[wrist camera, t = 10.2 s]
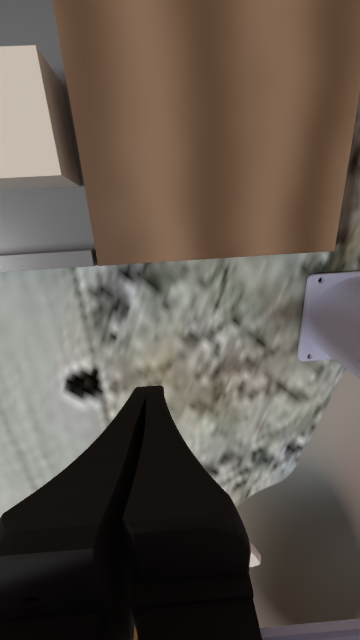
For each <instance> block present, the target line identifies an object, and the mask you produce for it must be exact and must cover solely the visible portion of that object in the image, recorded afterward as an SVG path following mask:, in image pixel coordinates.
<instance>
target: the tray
mask: <svg viewBox="0 0 360 640" xmlns="http://www.w3.org/2000/svg"><path fill="white" fill-rule="evenodd" d="M26 45H36V46H37V48H38V49H39V51H40V52H41V54H42V55H43V57H44V58H45V60H46V61H47V62H48V64H49V65H50V67H51V68H52V70H53V71H54V73H55V74H56V76H57V77H58V78H59V80H60V81H61V83H62V85H63V91H64V97H65V102H66V108H67V114H68V119H69V125H70V131H71V136H72V142H73V148H74V153H75V159H76V165H77V170H78V176H79V182H80V186H77V187H58V188H40V189H21V190H2V191H0V272H8V271H24V270H39V269H55V268H71V267H87V266H95V265H98V262H97V256H96V250H95V244H94V238H93V233H92V227H91V221H90V215H89V209H88V204H87V198H86V192H85V186H84V181H83V175H82V169H81V163H80V157H79V152H78V146H77V140H76V134H75V128H74V123H73V117H72V111H71V105H70V99H69V94H68V88H67V82H66V76H65V70H64V65H63V59H62V53H61V47H60V42H59V36H58V30H57V24H56V18H55V13H54V7H53V1H52V0H0V46H26Z"/></svg>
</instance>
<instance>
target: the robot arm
mask: <svg viewBox="0 0 360 640" xmlns="http://www.w3.org/2000/svg"><path fill="white" fill-rule="evenodd" d="M319 278H322V280H321V281H320V282H318V280H319ZM309 354H310V356H309V357H307V356H308V355H309ZM297 356H298V359H299V360H301V361H316V360H329V359H334V360H335V361H336V362H338V363H339V364H340V365H342V366H343V367H344V368H346V369H347V370H348V371H350V372H351V373H353V374H354V375H355V376H357V377H358V378H360V271H352V272H337V273H322V274H312V275H310V276H309V277H308V279H307V284H306V292H305V300H304V308H303V316H302V323H301V331H300V339H299V347H298V355H297ZM250 555H251V548H250V542H249V538H248V536H247V533H246V530H245V527H244V525H243V523H242V520H241V518H240V516H239V514H238V512H237V509H236V507H235V505H234V503H233V501H232V499H231V498H230V496H229V495H228V494H227V493H226V492H225V491H224V490H223V489H222V488H221V487H220V486H219V485H218V484H217V483H216V481H215V480H214V479H213V478H212V477H211V476H210V475H209V474H208V472H207V471H206V470H205V469H204V468H203V466H202V465H201V464H200V462H199V461H198V460H197V458H196V457H195V456H194V455H193V453H192V452H191V450H190V449H189V447H188V446H187V444H186V443H185V441H184V440H183V438H182V436H181V435H180V433H179V431H178V429H177V427H176V425H175V423H174V421H173V419H172V417H171V414H170V412H169V409H168V407H167V404H166V401H165V397H164V388H163V387H162V386H147V387H136V388H135V389H134V391H133V393H132V394H131V396H130V397H129V399H128V400H127V402H126V403H125V405H124V406H123V407H122V409H121V410H120V411H119V413H118V414H117V416H116V417H115V418H114V419H113V421H112V422H111V423H110V424H109V425H108V427H107V428H106V429H105V430H104V431H103V433H102V434H101V435H100V436H99V437H98V438H97V439H96V440H95V441H94V442H93V443H92V444H91V445H90V446H89V448H88V449H86V450H85V451H84V452H83V453H82V454H81V455H80V456H79V457H78V458H77V459H76V460H75V461H73V462H72V463H71V464H70V465H69V466H68V467H67V468H65V469H64V470H63V471H62V472H61V473H59V474H58V475H57V476H56V477H54V478H53V479H52V480H50V481H49V482H48V483H46V484H45V485H44V486H42V487H41V488H40V489H38V490H37V491H36V492H34V493H33V494H31V495H30V496H28V497H27V498H25V499H24V500H23V501H21V502H20V503H18V504H17V505H15V506H14V507H12V508H11V509H9V510H8V511H6V512H5V513H3V515H2V516H1V518H0V640H134V625H135V627H136V631H137V636H138V639H135V640H360V619H352V620H342V621H331V622H320V623H309V624H298V625H287V626H278V627H265V628H259V623H258V619H257V615H256V611H255V606H254V602H253V589H252V585H251V580H250V577H249V565H250Z"/></svg>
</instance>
